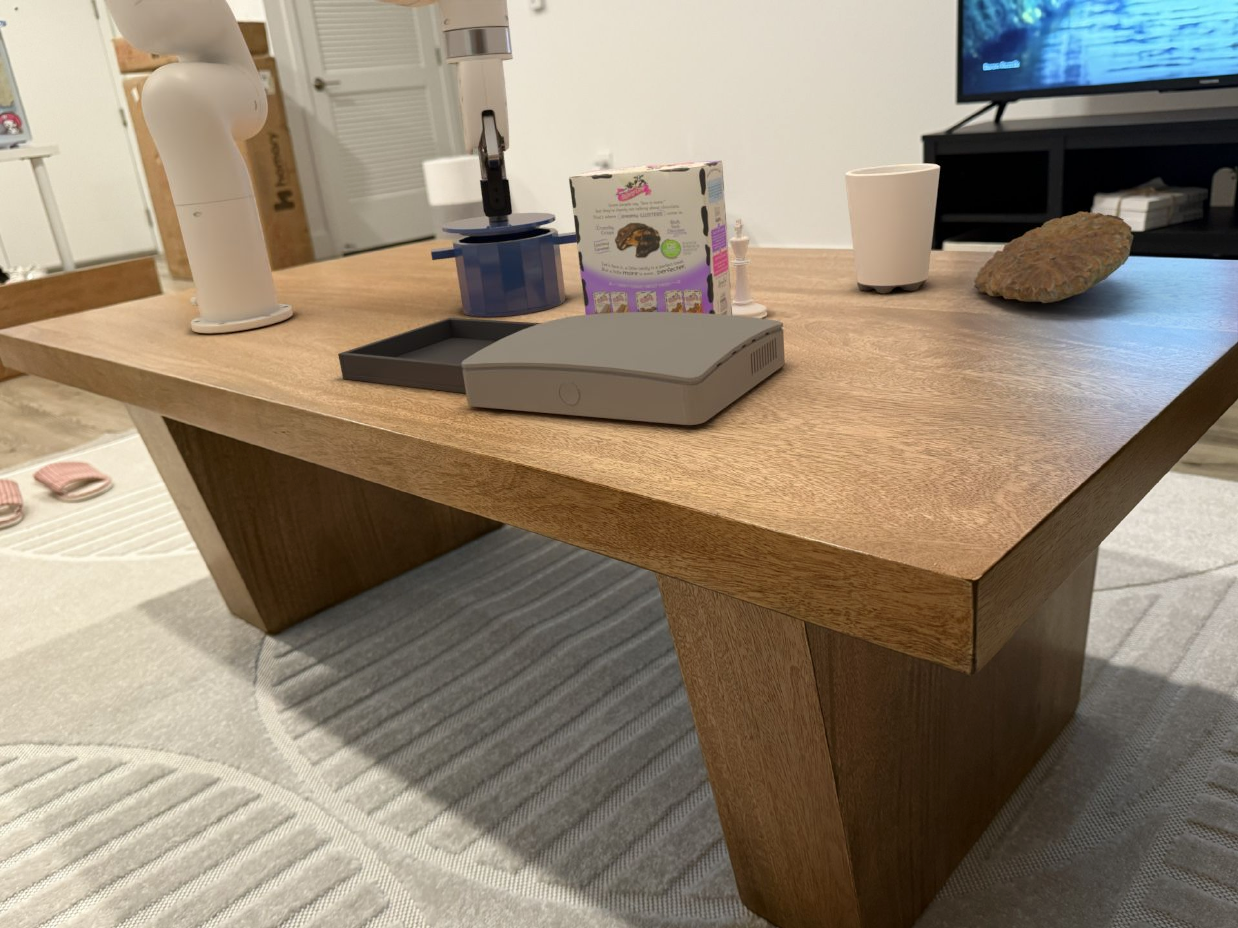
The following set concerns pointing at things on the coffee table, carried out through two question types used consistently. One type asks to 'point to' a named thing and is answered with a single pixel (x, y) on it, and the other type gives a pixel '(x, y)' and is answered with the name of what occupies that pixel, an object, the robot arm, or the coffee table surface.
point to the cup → (892, 224)
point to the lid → (499, 224)
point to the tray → (426, 353)
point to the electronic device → (627, 365)
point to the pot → (509, 271)
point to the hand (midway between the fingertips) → (497, 213)
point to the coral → (1058, 258)
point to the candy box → (653, 238)
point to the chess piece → (743, 278)
